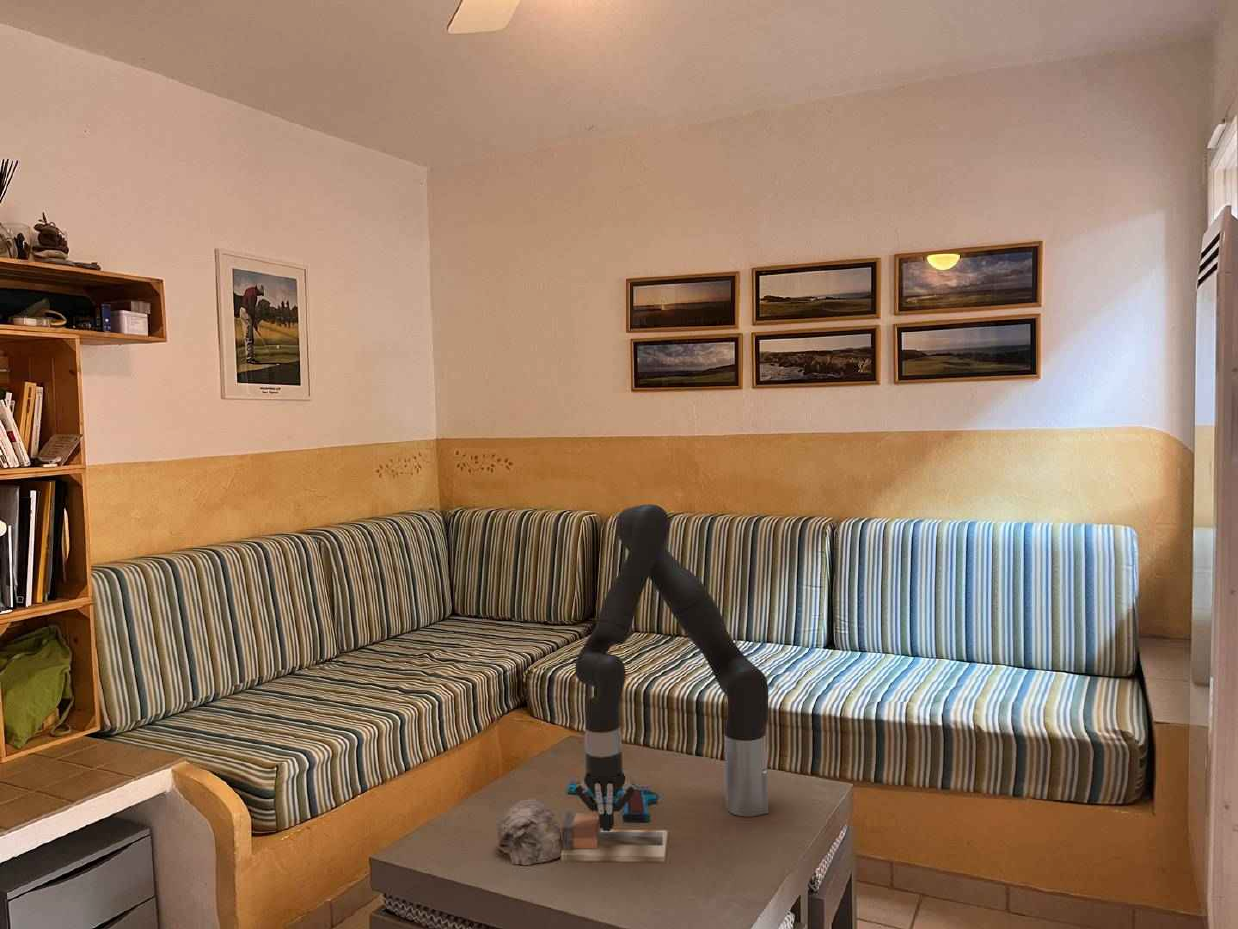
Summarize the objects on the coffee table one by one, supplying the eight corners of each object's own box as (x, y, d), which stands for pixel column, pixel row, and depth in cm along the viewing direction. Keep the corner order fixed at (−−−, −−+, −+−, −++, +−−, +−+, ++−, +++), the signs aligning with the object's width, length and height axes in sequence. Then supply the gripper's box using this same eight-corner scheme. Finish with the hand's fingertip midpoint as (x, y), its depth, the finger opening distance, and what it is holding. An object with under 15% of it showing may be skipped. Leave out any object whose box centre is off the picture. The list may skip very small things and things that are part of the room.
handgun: (648, 827, 205) (665, 796, 219) (647, 814, 205) (664, 784, 219) (550, 818, 212) (572, 789, 226) (549, 806, 212) (572, 778, 226)
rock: (576, 846, 197) (573, 800, 196) (545, 873, 187) (542, 825, 186) (516, 832, 204) (514, 788, 203) (483, 858, 194) (480, 811, 193)
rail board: (667, 836, 200) (666, 808, 199) (664, 862, 189) (663, 833, 188) (569, 834, 202) (568, 807, 201) (561, 860, 191) (559, 832, 191)
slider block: (600, 834, 198) (599, 813, 198) (597, 848, 193) (596, 826, 192) (577, 834, 199) (576, 813, 199) (572, 848, 193) (571, 826, 193)
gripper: (637, 741, 196) (640, 821, 198) (574, 741, 198) (578, 821, 199) (633, 755, 189) (637, 838, 190) (568, 755, 190) (572, 837, 192)
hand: (606, 829), depth 195 cm, fingers closed
